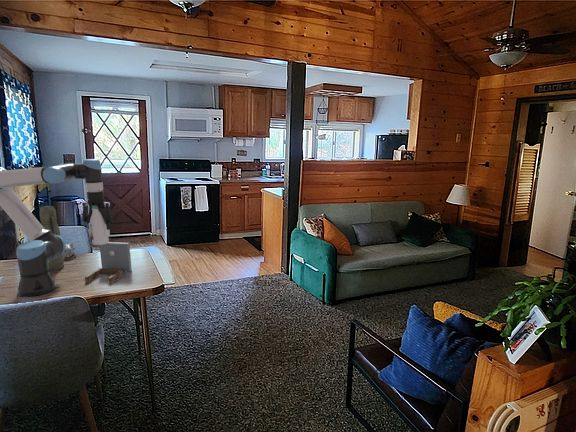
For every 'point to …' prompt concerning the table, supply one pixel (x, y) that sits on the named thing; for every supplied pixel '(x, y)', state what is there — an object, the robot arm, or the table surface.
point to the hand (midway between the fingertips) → (99, 235)
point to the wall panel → (116, 256)
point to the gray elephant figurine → (69, 250)
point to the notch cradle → (102, 271)
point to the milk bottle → (97, 227)
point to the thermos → (50, 223)
